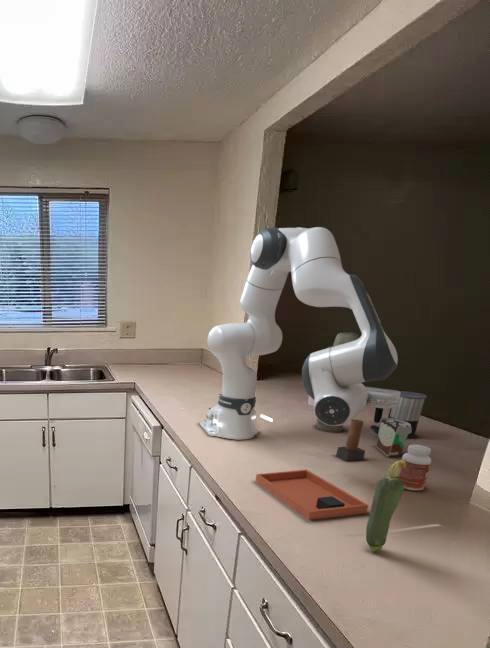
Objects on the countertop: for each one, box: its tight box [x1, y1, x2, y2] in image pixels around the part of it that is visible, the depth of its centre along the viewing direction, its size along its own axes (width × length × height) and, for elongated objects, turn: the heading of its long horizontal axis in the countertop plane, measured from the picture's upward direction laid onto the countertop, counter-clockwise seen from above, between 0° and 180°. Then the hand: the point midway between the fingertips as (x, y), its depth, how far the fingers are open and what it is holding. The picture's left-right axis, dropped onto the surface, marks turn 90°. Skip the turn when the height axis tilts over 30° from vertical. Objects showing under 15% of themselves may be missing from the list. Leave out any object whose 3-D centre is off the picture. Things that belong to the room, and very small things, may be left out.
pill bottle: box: [397, 444, 432, 491], centre depth 113 cm, size 6×6×11 cm
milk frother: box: [370, 390, 428, 439], centre depth 152 cm, size 14×16×15 cm
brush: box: [335, 419, 366, 462], centre depth 132 cm, size 6×4×12 cm
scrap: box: [316, 496, 345, 509], centre depth 102 cm, size 4×4×2 cm
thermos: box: [315, 331, 359, 433], centre depth 156 cm, size 9×12×35 cm
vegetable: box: [365, 459, 407, 553], centre depth 85 cm, size 4×4×20 cm
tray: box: [255, 469, 370, 521], centre depth 109 cm, size 21×15×2 cm
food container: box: [375, 416, 412, 458], centre depth 137 cm, size 12×6×10 cm, turn 168°
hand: (357, 388), depth 118 cm, fingers open, 8 cm apart
